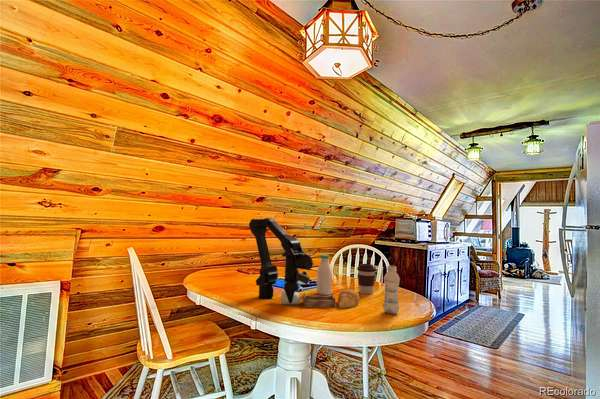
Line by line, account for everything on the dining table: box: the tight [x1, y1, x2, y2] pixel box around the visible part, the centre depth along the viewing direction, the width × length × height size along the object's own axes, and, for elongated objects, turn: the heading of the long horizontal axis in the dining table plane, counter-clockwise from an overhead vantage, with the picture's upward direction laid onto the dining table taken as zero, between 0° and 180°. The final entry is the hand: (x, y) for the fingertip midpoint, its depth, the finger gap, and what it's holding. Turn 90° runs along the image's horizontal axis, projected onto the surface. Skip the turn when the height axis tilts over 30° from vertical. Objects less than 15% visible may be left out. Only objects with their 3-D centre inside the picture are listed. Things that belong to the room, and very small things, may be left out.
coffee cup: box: [356, 263, 377, 295], centre depth 173 cm, size 10×10×15 cm
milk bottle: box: [316, 254, 333, 296], centre depth 169 cm, size 8×8×20 cm
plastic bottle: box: [382, 265, 401, 315], centre depth 138 cm, size 6×7×20 cm
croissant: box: [337, 288, 360, 309], centre depth 151 cm, size 21×10×8 cm, turn 152°
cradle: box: [302, 292, 336, 308], centre depth 148 cm, size 14×8×4 cm, turn 93°
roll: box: [280, 292, 301, 306], centre depth 147 cm, size 8×5×5 cm, turn 92°
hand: (290, 301), depth 147 cm, fingers closed on roll, 5 cm apart
